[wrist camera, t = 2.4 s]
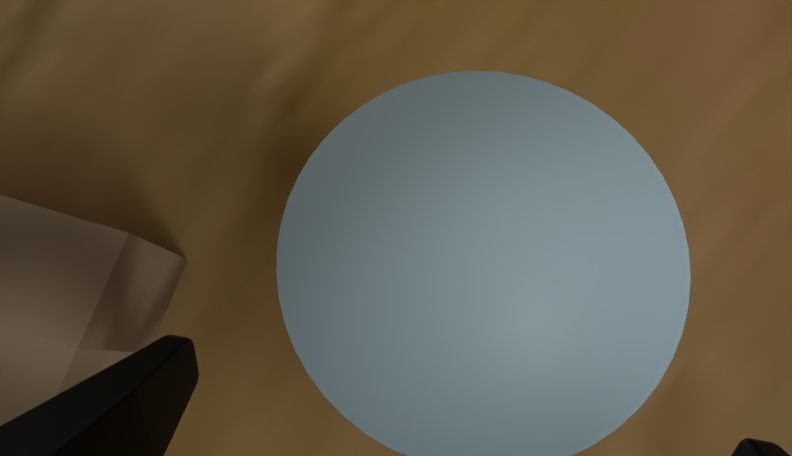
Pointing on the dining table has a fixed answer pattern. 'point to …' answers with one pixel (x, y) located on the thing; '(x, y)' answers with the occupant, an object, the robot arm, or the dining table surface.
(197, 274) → the dining table surface
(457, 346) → the peg
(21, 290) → the socket block
